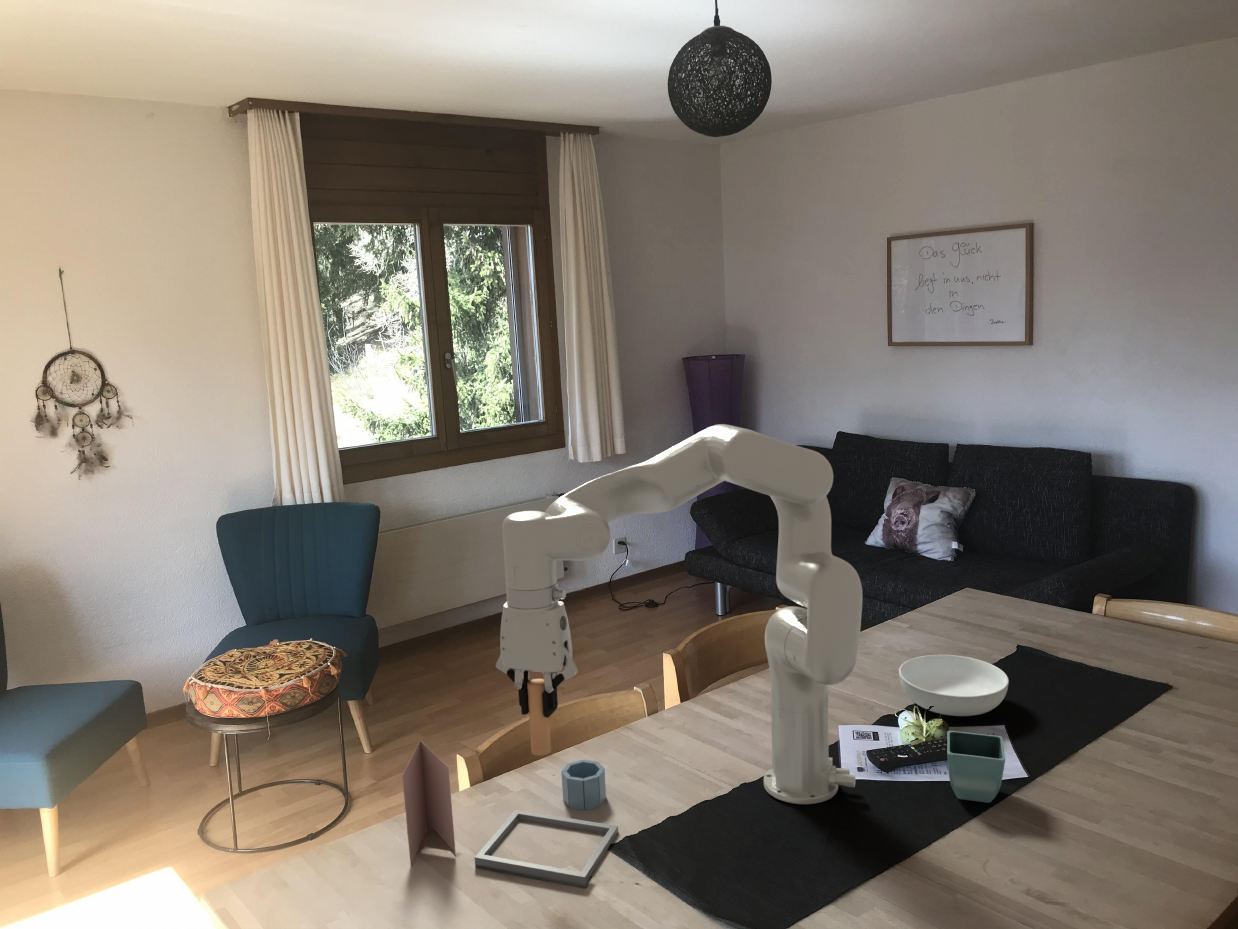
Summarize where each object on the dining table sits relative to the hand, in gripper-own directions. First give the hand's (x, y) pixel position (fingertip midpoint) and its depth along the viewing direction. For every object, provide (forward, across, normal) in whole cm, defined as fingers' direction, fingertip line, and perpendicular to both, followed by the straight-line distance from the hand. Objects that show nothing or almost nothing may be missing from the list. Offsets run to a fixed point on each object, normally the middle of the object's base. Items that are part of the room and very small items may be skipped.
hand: (538, 711), depth 143 cm
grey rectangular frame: (+23, 0, 0) cm, 23 cm away
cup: (+23, 0, -15) cm, 28 cm away
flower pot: (+23, -62, -35) cm, 75 cm away
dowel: (+6, 0, 0) cm, 6 cm away
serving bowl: (+23, -58, -70) cm, 94 cm away
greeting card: (+23, +18, +3) cm, 30 cm away
